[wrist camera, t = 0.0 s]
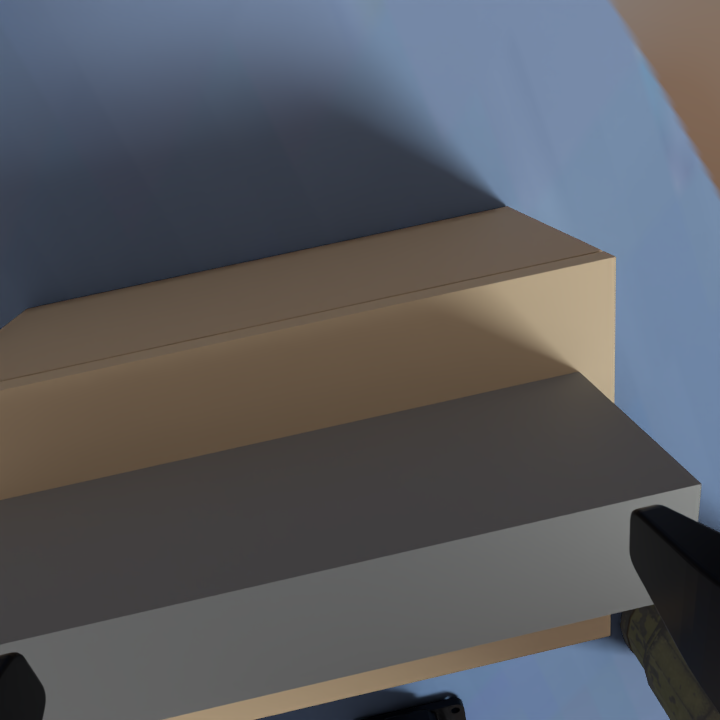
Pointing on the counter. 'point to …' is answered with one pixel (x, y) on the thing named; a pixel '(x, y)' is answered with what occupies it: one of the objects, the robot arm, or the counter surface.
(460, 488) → the grey stone
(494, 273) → the carton
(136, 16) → the counter surface
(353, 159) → the counter surface
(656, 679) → the thermos
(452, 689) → the counter surface
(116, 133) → the counter surface
